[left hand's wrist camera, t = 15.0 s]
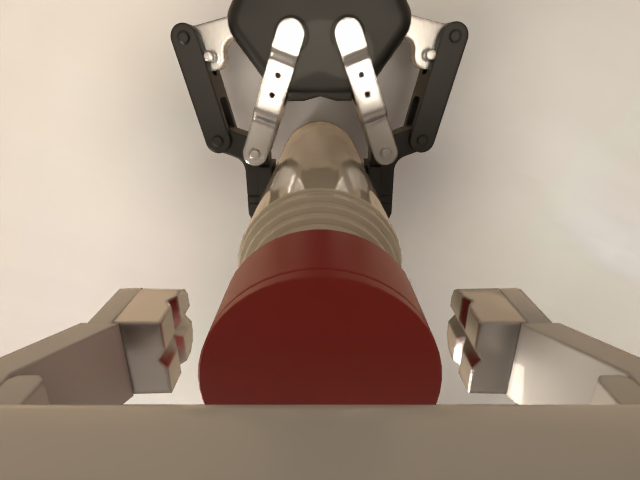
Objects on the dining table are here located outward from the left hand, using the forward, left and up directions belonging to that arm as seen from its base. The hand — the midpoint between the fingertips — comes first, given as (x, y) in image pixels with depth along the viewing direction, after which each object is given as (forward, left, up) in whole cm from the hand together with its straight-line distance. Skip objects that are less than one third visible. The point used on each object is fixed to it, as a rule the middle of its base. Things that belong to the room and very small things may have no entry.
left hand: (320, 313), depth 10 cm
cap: (0, 0, +2) cm, 2 cm away
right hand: (-2, +2, -13) cm, 14 cm away
